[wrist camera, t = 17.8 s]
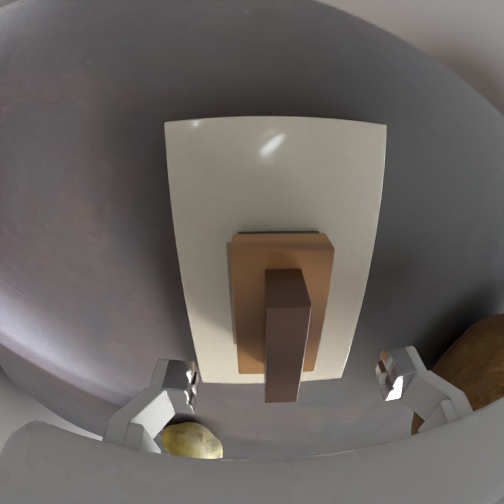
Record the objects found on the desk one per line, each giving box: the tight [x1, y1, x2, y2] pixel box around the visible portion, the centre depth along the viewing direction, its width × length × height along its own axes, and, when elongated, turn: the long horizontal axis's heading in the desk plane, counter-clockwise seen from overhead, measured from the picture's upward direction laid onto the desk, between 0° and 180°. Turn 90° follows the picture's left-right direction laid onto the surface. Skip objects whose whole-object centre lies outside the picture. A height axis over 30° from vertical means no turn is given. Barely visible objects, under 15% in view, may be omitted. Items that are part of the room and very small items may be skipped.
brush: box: [230, 231, 335, 403], centre depth 15 cm, size 9×5×6 cm, turn 1°
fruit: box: [156, 422, 223, 459], centre depth 27 cm, size 6×6×10 cm
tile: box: [164, 116, 387, 383], centre depth 18 cm, size 20×12×2 cm, turn 1°
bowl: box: [411, 313, 504, 435], centre depth 17 cm, size 19×19×15 cm
